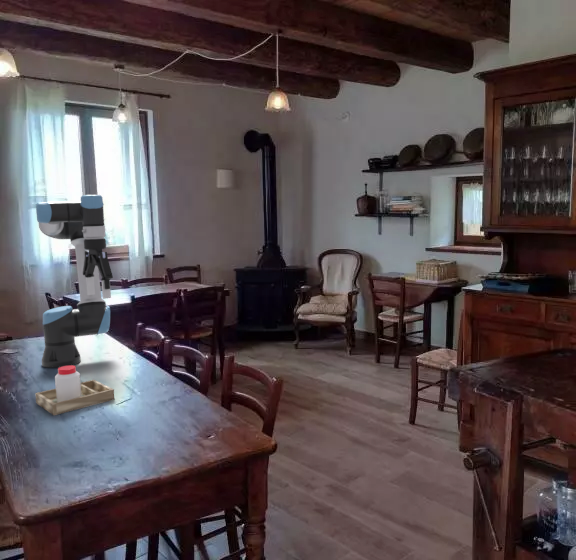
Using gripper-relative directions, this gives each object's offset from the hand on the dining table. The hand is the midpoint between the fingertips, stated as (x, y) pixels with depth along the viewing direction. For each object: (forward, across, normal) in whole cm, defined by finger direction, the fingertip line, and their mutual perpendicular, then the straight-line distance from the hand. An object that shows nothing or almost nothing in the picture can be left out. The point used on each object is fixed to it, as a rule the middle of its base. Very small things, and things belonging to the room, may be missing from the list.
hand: (98, 296), depth 207 cm
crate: (+32, +15, -17) cm, 39 cm away
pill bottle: (+31, +15, -19) cm, 39 cm away
